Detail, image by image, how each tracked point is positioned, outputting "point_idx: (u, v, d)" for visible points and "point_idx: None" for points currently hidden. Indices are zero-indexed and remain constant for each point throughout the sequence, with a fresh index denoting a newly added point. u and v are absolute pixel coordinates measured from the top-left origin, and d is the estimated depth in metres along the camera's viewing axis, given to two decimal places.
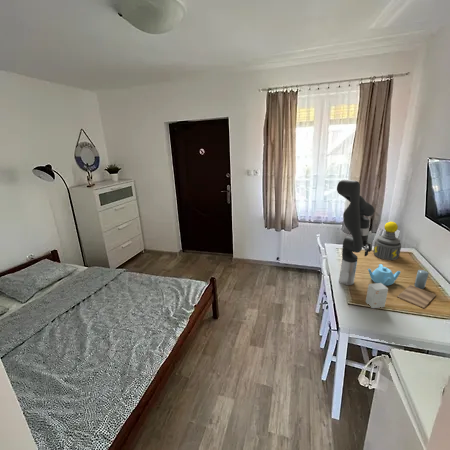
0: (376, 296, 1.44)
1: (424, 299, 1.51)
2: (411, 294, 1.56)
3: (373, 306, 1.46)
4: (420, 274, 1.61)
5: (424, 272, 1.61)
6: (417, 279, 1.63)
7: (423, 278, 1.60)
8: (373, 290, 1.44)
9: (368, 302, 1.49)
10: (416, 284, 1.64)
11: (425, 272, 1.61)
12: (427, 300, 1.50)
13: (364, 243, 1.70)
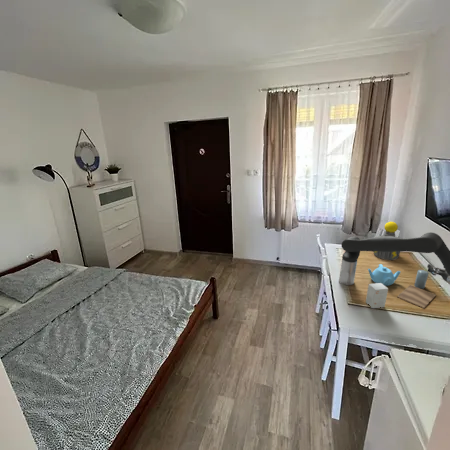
0: (376, 296, 1.44)
1: (424, 299, 1.51)
2: (411, 294, 1.56)
3: (373, 306, 1.46)
4: (420, 274, 1.61)
5: (424, 272, 1.61)
6: (417, 279, 1.63)
7: (423, 278, 1.60)
8: (373, 290, 1.44)
9: (368, 302, 1.49)
10: (416, 284, 1.64)
11: (425, 272, 1.61)
12: (427, 300, 1.50)
13: (441, 271, 1.41)
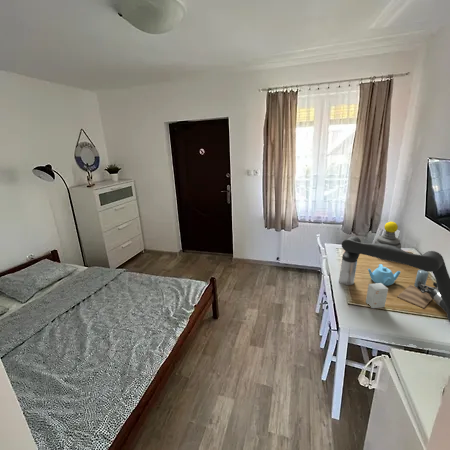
0: (376, 296, 1.44)
1: (424, 299, 1.51)
2: (411, 294, 1.56)
3: (373, 306, 1.46)
4: (420, 274, 1.61)
5: (424, 272, 1.61)
6: (417, 279, 1.63)
7: (423, 278, 1.60)
8: (373, 290, 1.44)
9: (368, 302, 1.49)
10: (416, 284, 1.64)
11: (425, 272, 1.61)
12: (427, 300, 1.50)
13: (429, 289, 1.49)
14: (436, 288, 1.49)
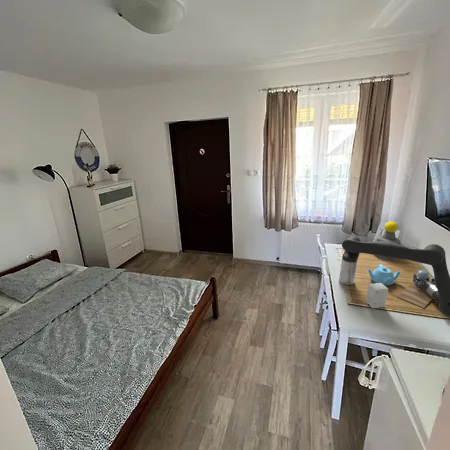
0: (376, 296, 1.44)
1: (424, 299, 1.51)
2: (411, 294, 1.56)
3: (373, 306, 1.46)
4: (420, 274, 1.61)
5: (424, 272, 1.61)
6: None
7: (423, 278, 1.60)
8: (373, 290, 1.44)
9: (368, 302, 1.49)
10: None
11: (425, 272, 1.61)
12: (427, 300, 1.50)
13: (422, 282, 1.57)
14: (429, 281, 1.56)
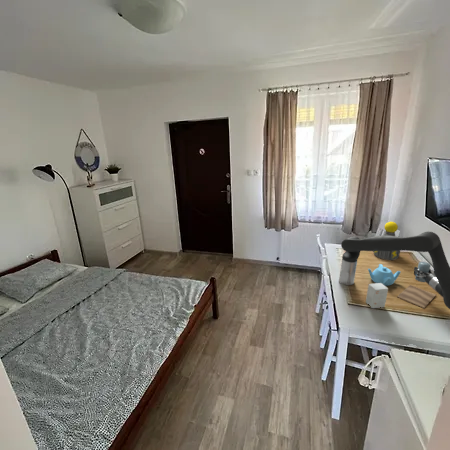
0: (376, 296, 1.44)
1: (424, 299, 1.51)
2: (411, 294, 1.56)
3: (373, 306, 1.46)
4: (422, 266, 1.48)
5: (426, 264, 1.48)
6: None
7: (425, 270, 1.48)
8: (373, 290, 1.44)
9: (368, 302, 1.49)
10: None
11: (427, 264, 1.49)
12: (427, 300, 1.50)
13: (424, 274, 1.44)
14: (432, 273, 1.43)
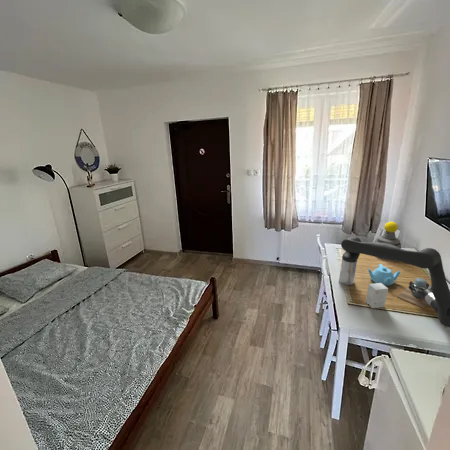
0: (376, 296, 1.44)
1: None
2: (411, 294, 1.56)
3: (373, 306, 1.46)
4: (418, 283, 1.51)
5: (422, 281, 1.50)
6: None
7: None
8: (373, 290, 1.44)
9: (368, 302, 1.49)
10: (413, 293, 1.54)
11: (423, 280, 1.51)
12: None
13: (421, 289, 1.46)
14: (427, 288, 1.45)
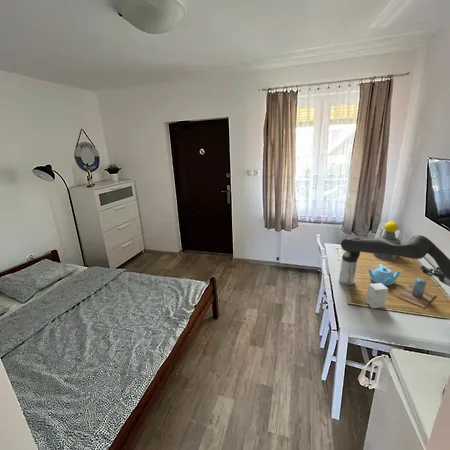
0: (376, 296, 1.44)
1: (424, 299, 1.51)
2: (411, 294, 1.56)
3: (373, 306, 1.46)
4: (418, 283, 1.51)
5: (422, 281, 1.51)
6: (414, 288, 1.53)
7: (421, 287, 1.50)
8: (373, 290, 1.44)
9: (368, 302, 1.49)
10: (413, 293, 1.54)
11: (423, 280, 1.51)
12: (427, 300, 1.50)
13: (437, 272, 1.36)
14: None
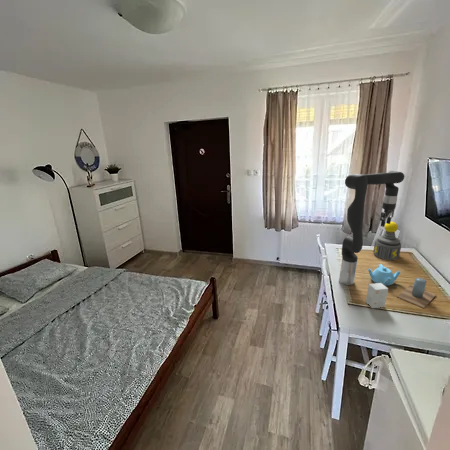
0: (376, 296, 1.44)
1: (424, 299, 1.51)
2: (411, 294, 1.56)
3: (373, 306, 1.46)
4: (418, 282, 1.51)
5: (422, 280, 1.51)
6: (415, 288, 1.53)
7: (421, 287, 1.50)
8: (373, 290, 1.44)
9: (368, 302, 1.49)
10: (413, 293, 1.54)
11: (423, 280, 1.51)
12: (427, 300, 1.50)
13: None
14: None
